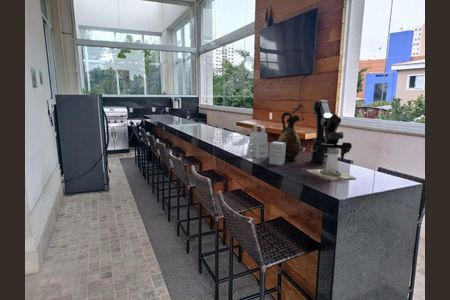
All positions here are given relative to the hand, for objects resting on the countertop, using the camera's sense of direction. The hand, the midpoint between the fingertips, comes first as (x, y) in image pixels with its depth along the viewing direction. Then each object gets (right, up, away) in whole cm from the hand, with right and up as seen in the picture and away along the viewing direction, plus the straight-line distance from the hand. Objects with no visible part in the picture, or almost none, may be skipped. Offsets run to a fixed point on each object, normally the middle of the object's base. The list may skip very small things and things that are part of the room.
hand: (332, 159), depth 139 cm
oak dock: (0, -8, +3) cm, 8 cm away
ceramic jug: (-15, -1, +38) cm, 41 cm away
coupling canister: (0, -7, +3) cm, 8 cm away
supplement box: (-24, -3, +23) cm, 34 cm away
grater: (-33, +1, +43) cm, 55 cm away
